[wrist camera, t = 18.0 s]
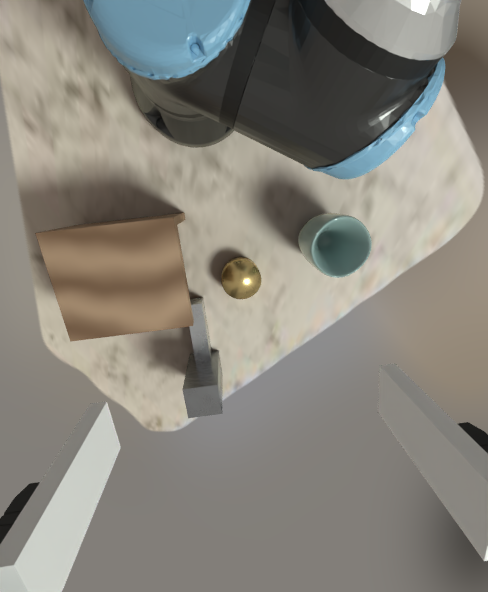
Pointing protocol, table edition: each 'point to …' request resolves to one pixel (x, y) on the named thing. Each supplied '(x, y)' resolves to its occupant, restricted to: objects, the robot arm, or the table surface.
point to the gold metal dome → (241, 278)
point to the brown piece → (118, 276)
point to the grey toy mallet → (202, 369)
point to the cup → (335, 244)
